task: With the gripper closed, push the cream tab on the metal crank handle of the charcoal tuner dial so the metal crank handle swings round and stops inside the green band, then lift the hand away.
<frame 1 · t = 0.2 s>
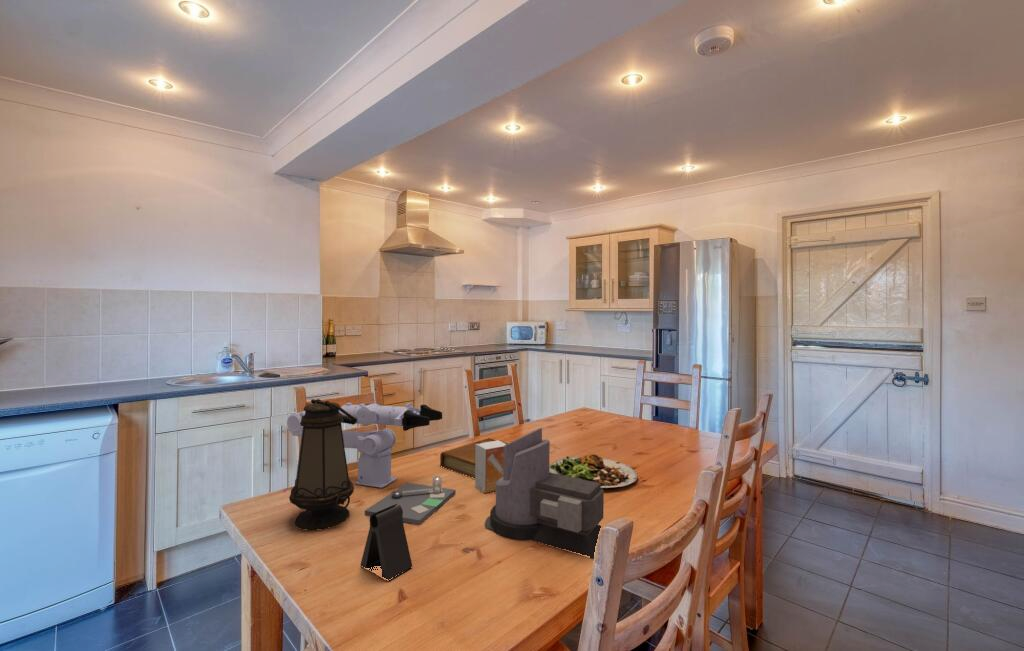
hand: (435, 418, 129), 21 cm above the table, tool horizontal, fingers open, 7 cm apart
diary: (483, 466, 152), on the table
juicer: (542, 530, 106), on the table
small box: (491, 488, 132), on the table
metal crank handle: (417, 486, 123), point 3 cm above the table, hinge at 35.0°
lantern: (322, 519, 111), on the table
black tent sign: (386, 568, 90), on the table
plate of food: (592, 477, 142), on the table
dial board: (412, 503, 120), on the table
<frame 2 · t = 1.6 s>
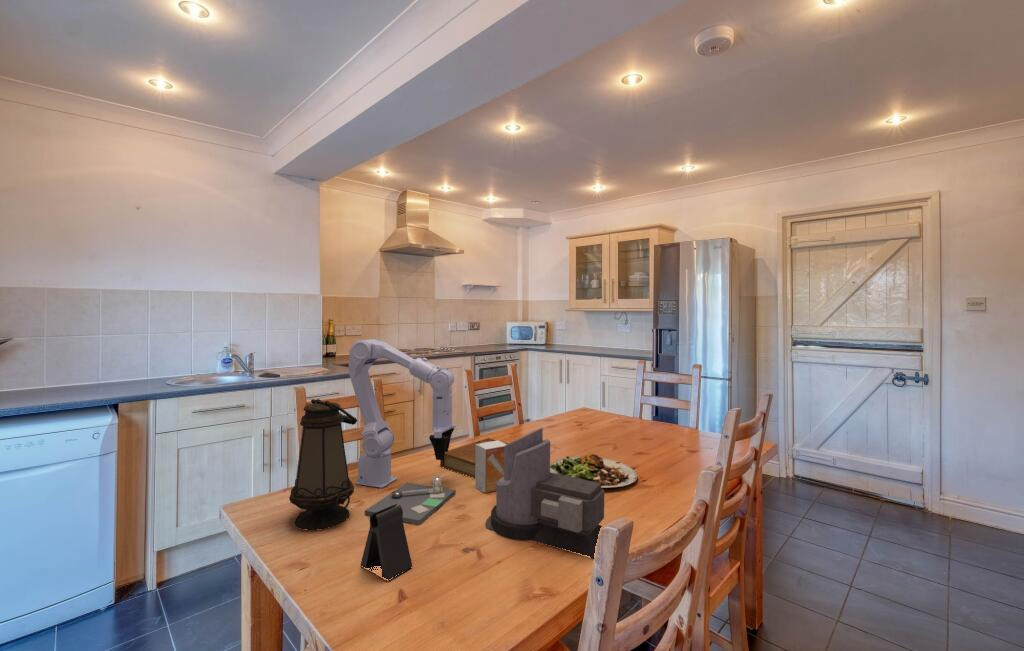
hand: (442, 455, 132), 9 cm above the table, tool pointing down, fingers open, 7 cm apart
nothing on the table moved.
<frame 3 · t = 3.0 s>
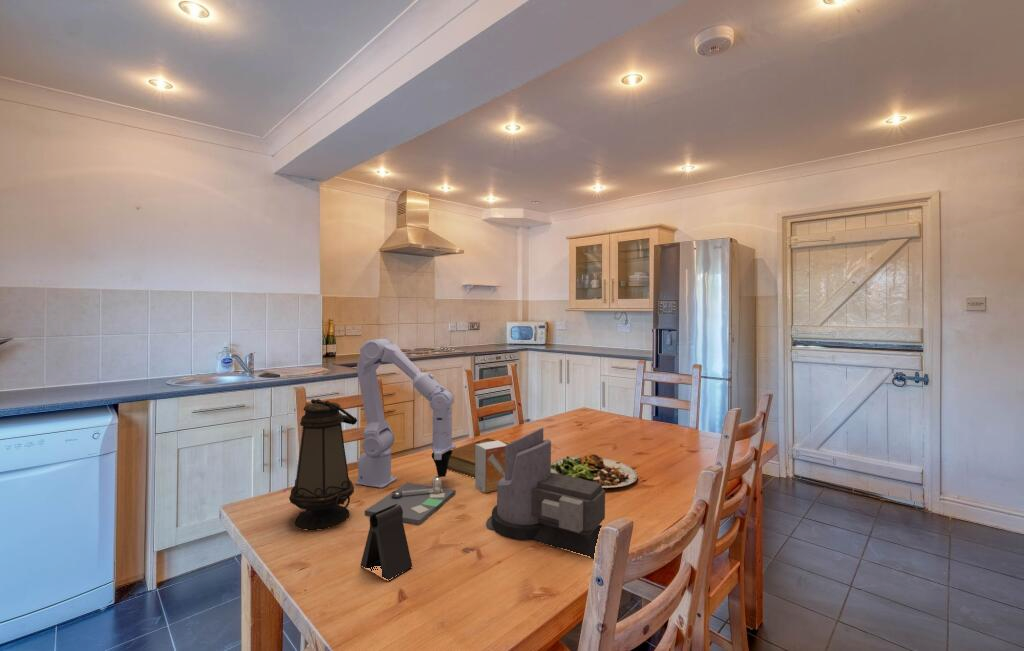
hand: (442, 476, 132), 3 cm above the table, tool pointing down, fingers closed
nothing on the table moved.
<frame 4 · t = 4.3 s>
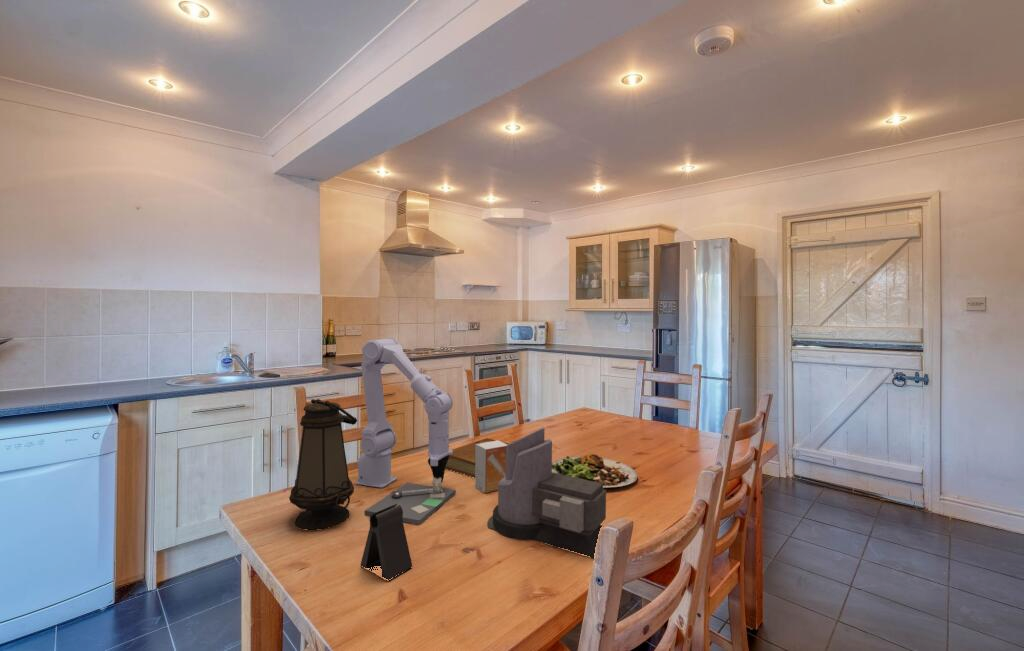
hand: (438, 482, 127), 3 cm above the table, tool pointing down, fingers closed, pressing on metal crank handle
metal crank handle: (417, 486, 123), point 3 cm above the table, hinge at 35.0°, touching gripper
everything else where it was.
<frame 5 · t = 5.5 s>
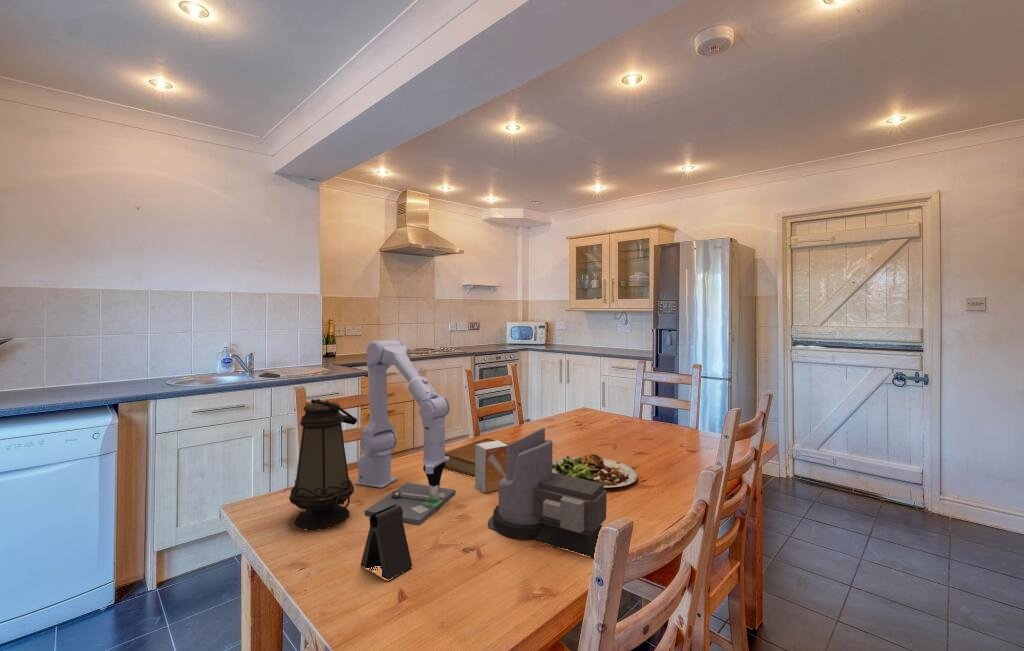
hand: (434, 490, 121), 3 cm above the table, tool pointing down, fingers closed
metal crank handle: (415, 490, 120), point 3 cm above the table, hinge at 4.5°, touching gripper
everything else where it was.
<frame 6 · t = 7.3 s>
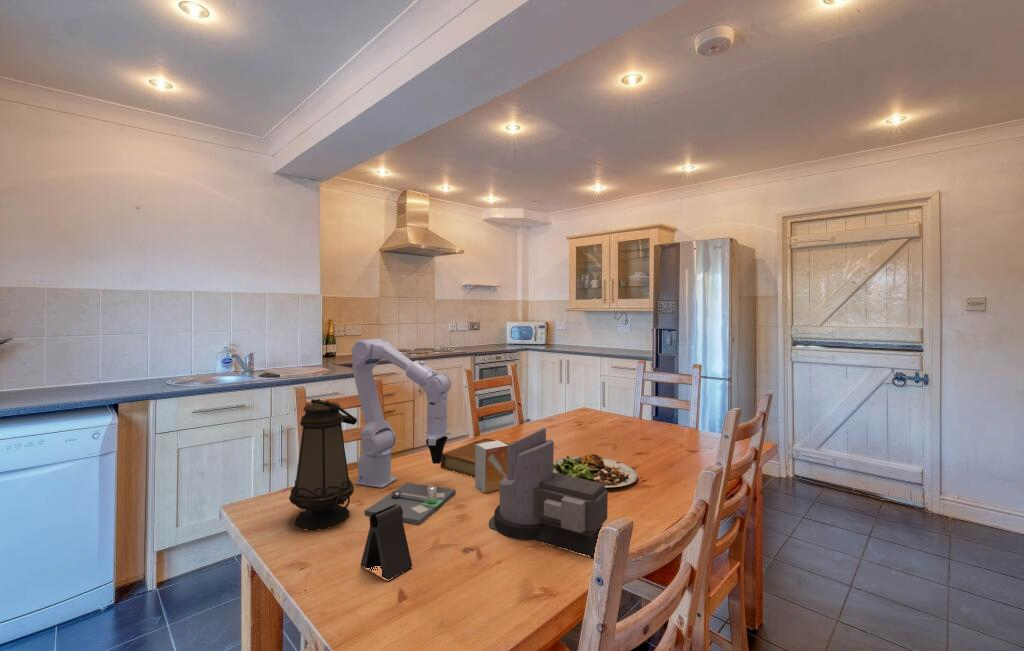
hand: (436, 462, 128), 9 cm above the table, tool pointing down, fingers closed
metal crank handle: (414, 491, 120), point 3 cm above the table, hinge at -0.9°
everything else where it was.
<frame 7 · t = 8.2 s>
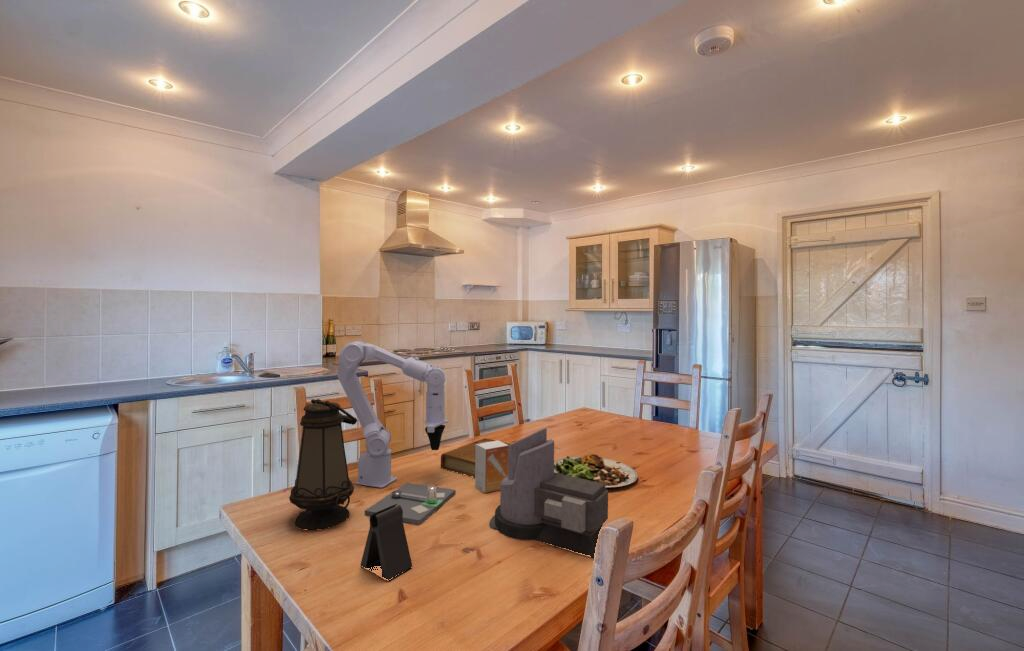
hand: (435, 449, 138), 9 cm above the table, tool pointing down, fingers closed
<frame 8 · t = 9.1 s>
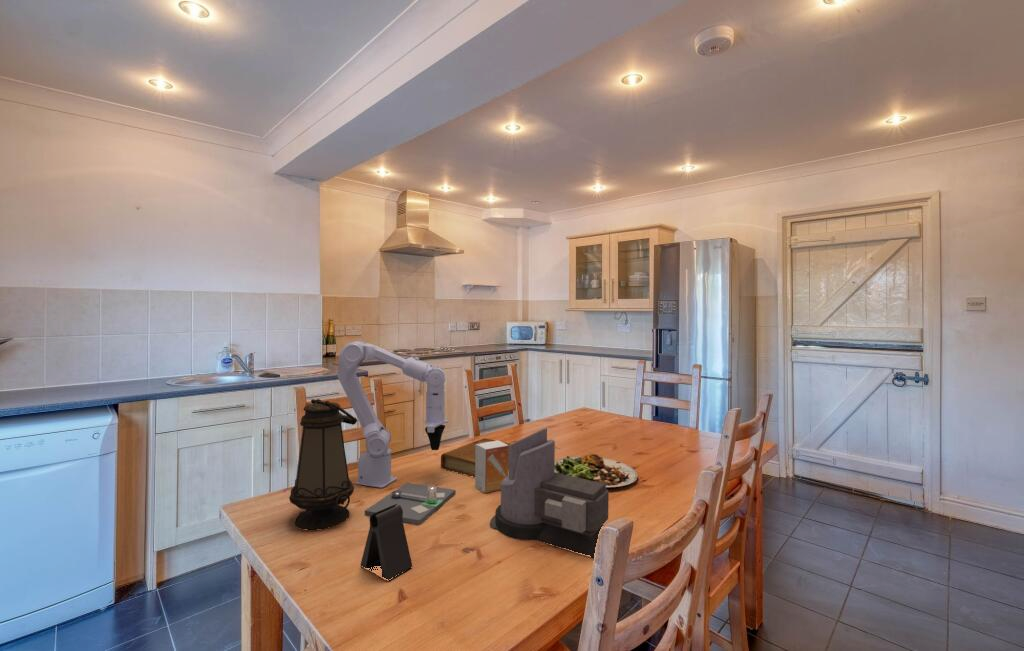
hand: (435, 449, 138), 9 cm above the table, tool pointing down, fingers closed
at the end: metal crank handle at -1° (first picture: +35°); small box moved 0.2 cm from its start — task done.
